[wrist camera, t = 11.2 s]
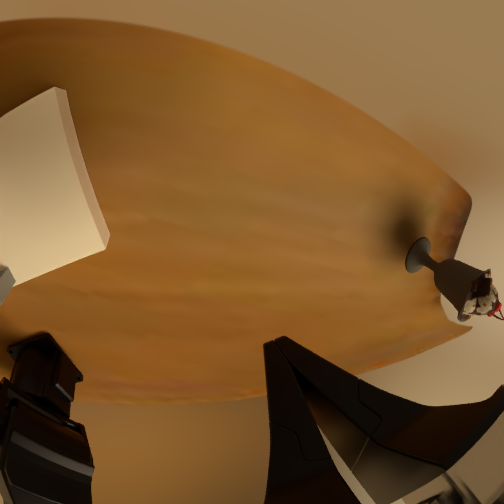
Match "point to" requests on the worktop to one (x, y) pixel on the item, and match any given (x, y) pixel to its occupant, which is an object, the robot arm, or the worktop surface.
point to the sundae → (457, 282)
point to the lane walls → (5, 284)
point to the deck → (45, 190)
